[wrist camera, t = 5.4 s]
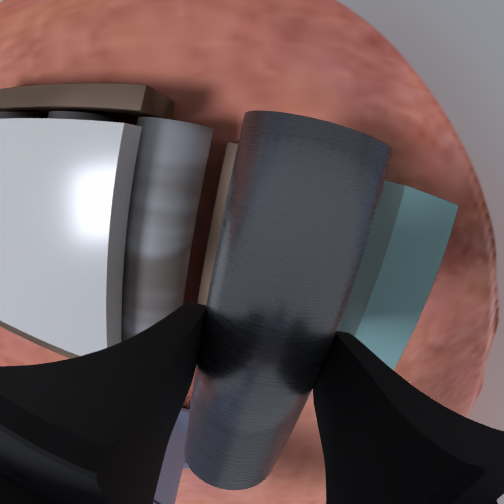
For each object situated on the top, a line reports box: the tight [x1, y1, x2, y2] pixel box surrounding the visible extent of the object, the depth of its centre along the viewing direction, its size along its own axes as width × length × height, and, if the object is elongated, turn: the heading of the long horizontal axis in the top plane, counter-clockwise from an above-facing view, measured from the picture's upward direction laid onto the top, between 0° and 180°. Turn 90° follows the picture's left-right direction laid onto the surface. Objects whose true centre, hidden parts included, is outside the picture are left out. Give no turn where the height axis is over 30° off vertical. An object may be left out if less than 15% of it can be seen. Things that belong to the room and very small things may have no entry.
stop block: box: [337, 181, 458, 370], centre depth 16 cm, size 12×3×6 cm, turn 168°
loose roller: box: [184, 111, 392, 490], centre depth 10 cm, size 13×4×4 cm, turn 168°
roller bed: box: [0, 83, 238, 359], centre depth 16 cm, size 16×25×5 cm, turn 78°
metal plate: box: [0, 118, 142, 356], centre depth 13 cm, size 12×14×2 cm
